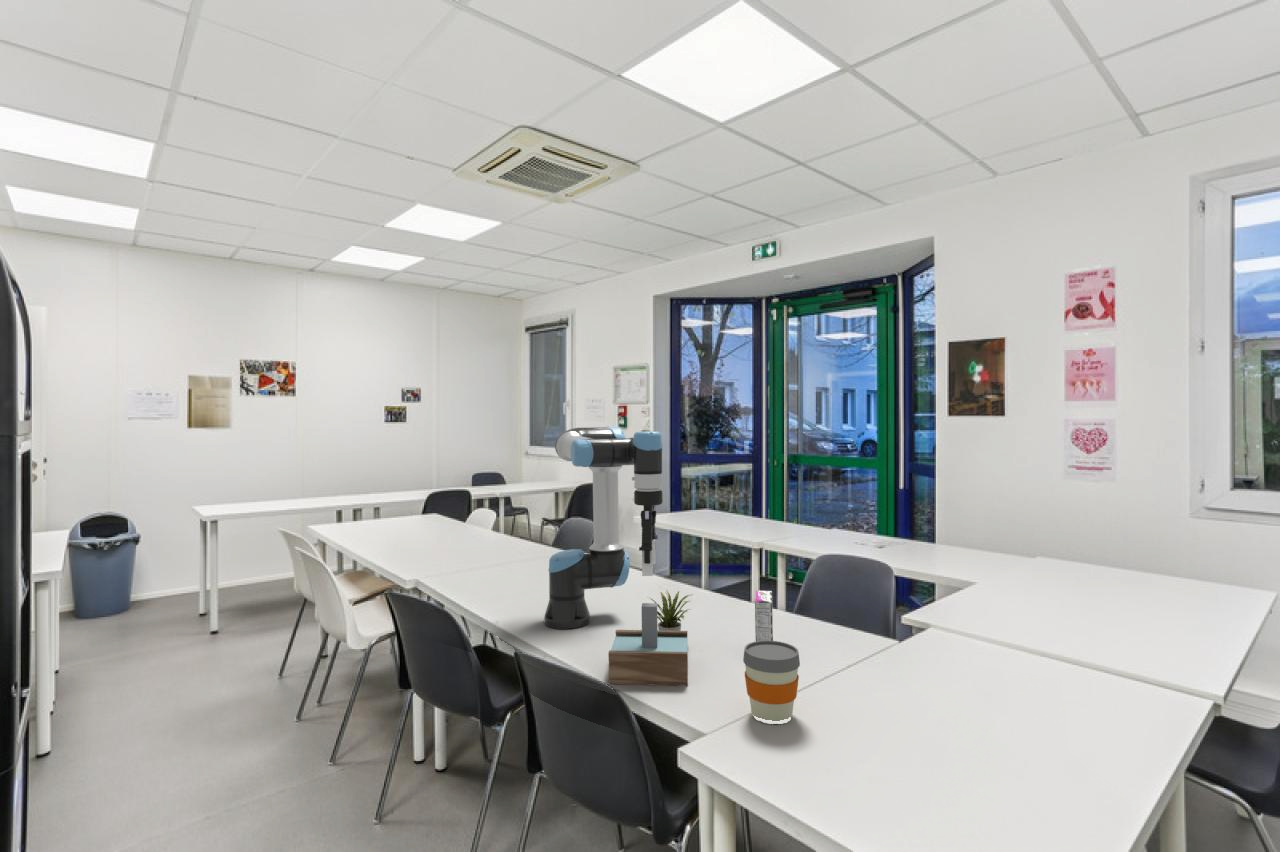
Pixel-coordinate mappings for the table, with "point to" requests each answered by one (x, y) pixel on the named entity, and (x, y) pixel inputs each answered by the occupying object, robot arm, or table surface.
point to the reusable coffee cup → (771, 678)
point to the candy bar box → (763, 616)
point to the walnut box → (648, 664)
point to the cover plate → (661, 644)
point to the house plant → (670, 613)
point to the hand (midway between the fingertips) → (649, 569)
